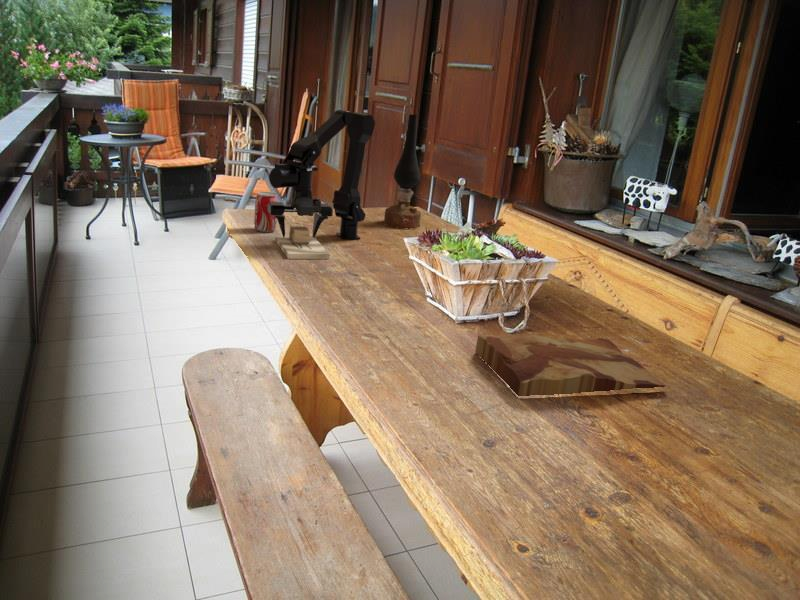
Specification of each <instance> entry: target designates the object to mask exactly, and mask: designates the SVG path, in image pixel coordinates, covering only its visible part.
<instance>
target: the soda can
mask: <svg viewBox="0 0 800 600" xmlns="http://www.w3.org/2000/svg"><path fill="white" fill-rule="evenodd" d="M254 201H255V202H254V222H253V223H254V229H255V230H257V232H260V233H273V231H275V230H276V229H277V222H278V220H277V218H275V217H274V216H273V215H270V213H269V212H268V204H269V202H278V198H277V194H276V193H274V192H268V191H259V192H257V195H256V197H255V200H254Z"/></svg>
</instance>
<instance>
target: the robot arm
mask: <svg viewBox="0 0 800 600" xmlns="http://www.w3.org/2000/svg"><path fill="white" fill-rule="evenodd" d="M375 126H376V120H375V119H374V117H373V116H372V115H371V114H367V113H362V112H358V111H357V112H351V111H349V110H344V109H336V110H335V111H334V112H333V114H332V115H330V117H329V118H328V119H327V120H326V121H324V123H322V124H321V125H320V126H319V127H318V128H317V129H316V130H315V131H314V132H312V133H311V134H309V135H308V136H305V137H302V138H299V139H297V140H296V141H295V142H293V143H292V144H291V146H290V149H289V151H288V153H287V154H286V156H285V158H284V159H283V161H282V163H274V167H273V168H272V169H271V170H270V173H269V174H268V178H269V184H270V185H271V186H272V187H273V188H274V189H284V188H285V189H286V188H291V195H290V196H291V199H290V205H285V204H284V203H282V202H281V201H277V202H269V204H268V212H269V213H270V215H273V216H274V217H275V218H277V222H278V226H279V229H280V231H281V236H283V237H285V236H286V225H285V219H286V216H285V215H284V214H285V213H296V215H297V216H300V217H303V216H304V217H305V216H306V217H307V216H308V217H312V216H314V217H313V226H312V236H313V238H316V235H317V233H318V231H319V228H320V226H321V225H322V223H323V221H325V220H328V219H329V217H334V216H335V217H337V218H340V228H339V232H336V235H337V237H339V238H340V239H341V240H360V239H361V237H360V236H359V235H358V228H359V223H360V222H361V223H362V221H363V222H364V221H365V218H366V215H367V214H366V213H365V211H364V210H363V209H362V206H361V196H360V193H359V190H358V188H359V183H360V177H361V172H362V166H363V159H364V155H365V154H364V153H365V148H366V144H367V142H369V140H370V139H371V138H372V136H373V133H374V130H375ZM345 127H346V132H347V135H348V136H347V137H348V138H349V144H348V149H347V150H348V151H347V154H346V155H347V157H346V162H345V168H344V174H343V180H342V185H341V187H340V188H339V189H338V190H336V189H335V190H334V192H333V199H332V202H331V203H332V206H331V205H329V203H322V200H321V199H320V198H313V197H312V195H313V194H312V193H313V192H312V185H313V184H312V183H313V172H317V171H319V168H318V167H317V166H316V165H315V162H317V159H318V158H320V156H321V154H322V150H323V148H324V147H325V145H327V144H328V143H329V142H330V141H331V140H332V139H333V138H334V137H336V135H337V134H339V133H340V132H341V131H342V130H343V129H344V128H345ZM333 212H334V213H335V215H334V216H333V214H334V213H333Z"/></svg>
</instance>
